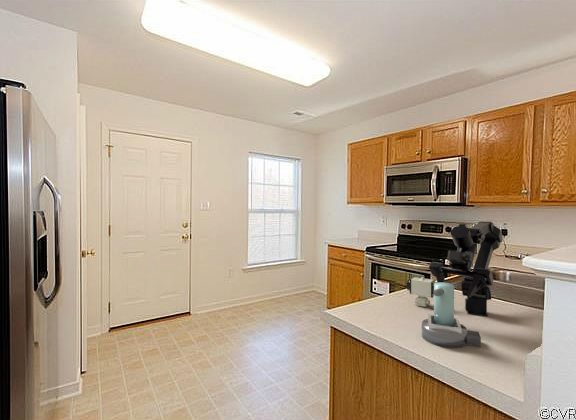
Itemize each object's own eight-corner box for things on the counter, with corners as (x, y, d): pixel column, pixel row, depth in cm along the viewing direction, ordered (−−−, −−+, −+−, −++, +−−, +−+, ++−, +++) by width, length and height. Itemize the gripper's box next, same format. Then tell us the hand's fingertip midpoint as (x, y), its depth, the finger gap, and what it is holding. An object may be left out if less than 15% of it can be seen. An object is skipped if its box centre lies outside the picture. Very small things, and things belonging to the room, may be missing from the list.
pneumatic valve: (436, 310, 119) (436, 280, 119) (406, 304, 127) (406, 276, 126) (439, 306, 123) (439, 277, 123) (410, 300, 131) (410, 273, 131)
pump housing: (438, 320, 98) (438, 281, 98) (456, 325, 94) (456, 284, 94) (427, 328, 93) (427, 286, 92) (446, 333, 88) (446, 289, 88)
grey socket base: (476, 335, 96) (476, 318, 96) (483, 353, 85) (483, 334, 84) (421, 327, 103) (421, 311, 102) (421, 343, 91) (421, 325, 91)
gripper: (430, 239, 109) (417, 274, 102) (491, 244, 96) (480, 285, 88) (439, 258, 115) (427, 293, 108) (497, 265, 101) (487, 305, 94)
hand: (453, 293), depth 99 cm, fingers open, 9 cm apart
